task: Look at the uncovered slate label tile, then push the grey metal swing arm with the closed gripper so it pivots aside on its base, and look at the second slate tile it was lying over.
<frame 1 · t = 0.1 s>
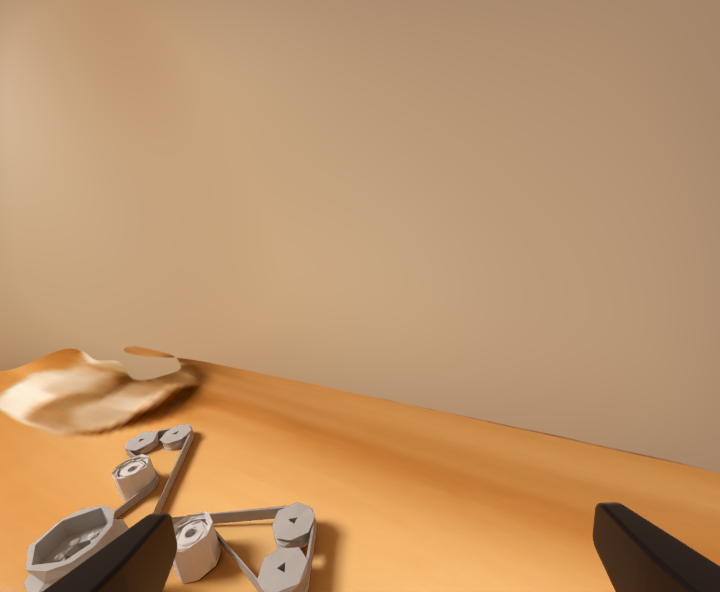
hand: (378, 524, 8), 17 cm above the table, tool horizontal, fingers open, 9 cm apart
pulley system: (158, 533, 29), on the table
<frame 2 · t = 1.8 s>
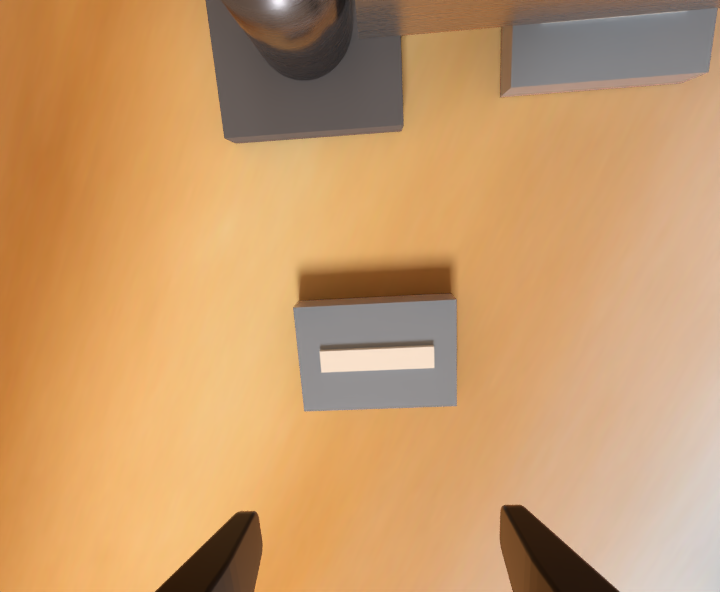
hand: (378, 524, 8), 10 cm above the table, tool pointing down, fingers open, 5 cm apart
pivot base: (309, 43, 15), on the table
label tile a: (376, 347, 18), on the table
label tile b: (595, 18, 14), on the table
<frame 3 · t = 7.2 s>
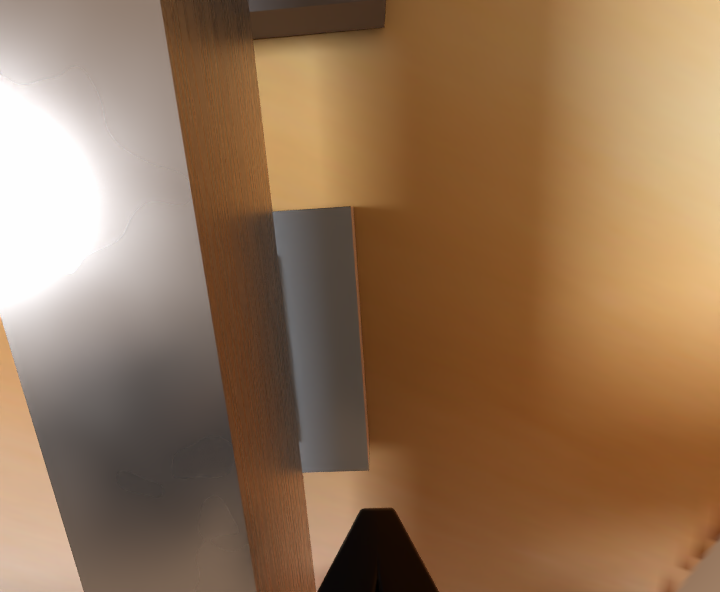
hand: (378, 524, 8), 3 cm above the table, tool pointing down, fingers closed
label tile b: (274, 338, 10), on the table
swing arm: (206, 369, 6), point 4 cm above the table, hinge at 0.2°, touching gripper
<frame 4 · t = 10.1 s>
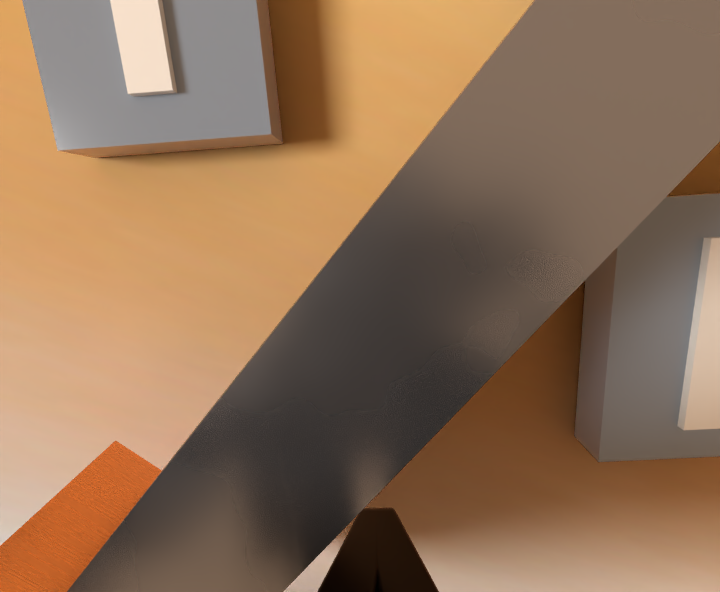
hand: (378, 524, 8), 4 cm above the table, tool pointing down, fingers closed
label tile b: (671, 322, 10), on the table
swing arm: (464, 208, 6), point 4 cm above the table, hinge at 42.8°, touching gripper
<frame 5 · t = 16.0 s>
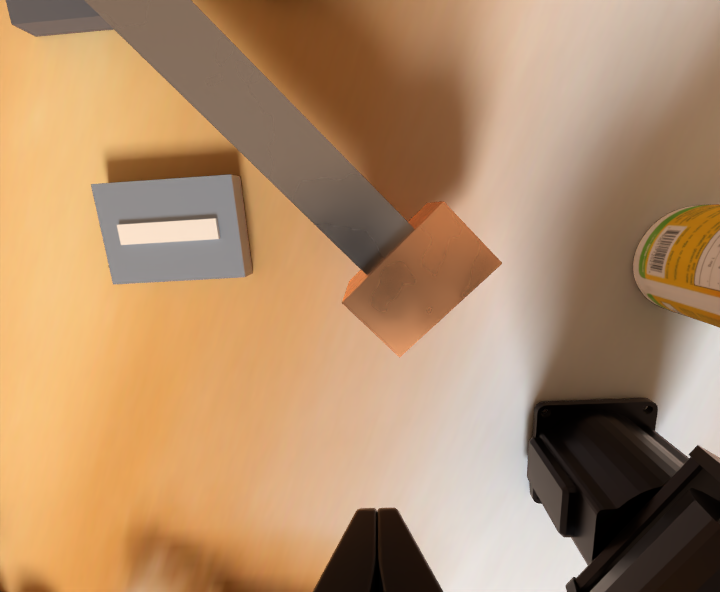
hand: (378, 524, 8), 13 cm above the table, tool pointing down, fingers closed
supplement bottle: (680, 257, 19), on the table
label tile a: (181, 230, 20), on the table
swing arm: (225, 83, 14), point 4 cm above the table, hinge at 47.9°
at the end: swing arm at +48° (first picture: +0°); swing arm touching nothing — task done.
